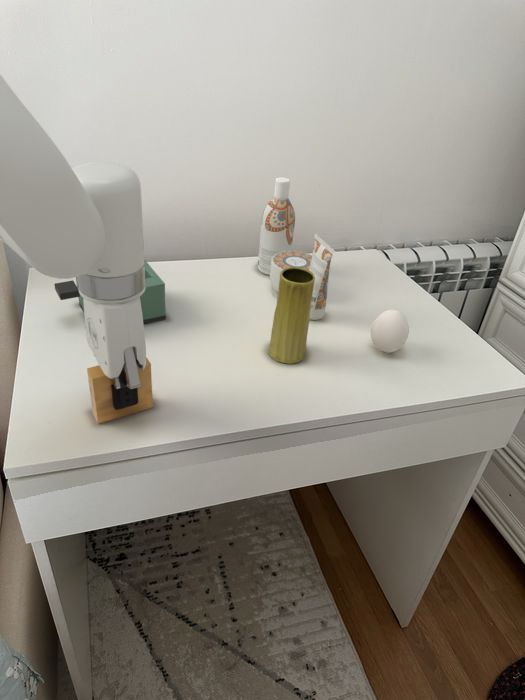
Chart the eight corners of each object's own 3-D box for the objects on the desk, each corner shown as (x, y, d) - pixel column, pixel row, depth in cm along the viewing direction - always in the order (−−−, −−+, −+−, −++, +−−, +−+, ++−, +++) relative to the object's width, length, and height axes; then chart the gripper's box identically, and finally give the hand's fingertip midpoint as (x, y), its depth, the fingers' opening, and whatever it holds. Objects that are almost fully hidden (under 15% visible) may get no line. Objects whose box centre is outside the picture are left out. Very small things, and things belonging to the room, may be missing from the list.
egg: (361, 340, 92) (370, 302, 88) (394, 338, 93) (405, 301, 89) (374, 361, 87) (384, 322, 83) (408, 359, 88) (420, 320, 84)
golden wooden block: (98, 423, 70) (92, 379, 66) (92, 412, 72) (86, 368, 67) (152, 407, 74) (150, 363, 69) (146, 397, 75) (144, 353, 71)
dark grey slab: (60, 300, 84) (59, 293, 83) (55, 289, 86) (54, 283, 85) (80, 296, 85) (79, 290, 84) (74, 286, 87) (73, 280, 87)
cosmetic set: (342, 321, 96) (363, 223, 85) (296, 328, 93) (311, 227, 82) (286, 260, 115) (297, 172, 104) (246, 264, 112) (253, 174, 101)
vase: (294, 339, 90) (305, 263, 82) (312, 359, 86) (326, 281, 78) (261, 346, 88) (270, 268, 80) (278, 367, 84) (289, 287, 75)
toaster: (96, 334, 87) (92, 297, 82) (79, 305, 93) (74, 269, 89) (165, 319, 92) (165, 283, 88) (145, 292, 99) (143, 258, 95)
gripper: (60, 253, 65) (77, 372, 75) (100, 318, 54) (113, 447, 65) (120, 244, 68) (129, 359, 79) (169, 304, 57) (171, 428, 68)
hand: (122, 398), depth 72 cm, fingers closed on golden wooden block, 2 cm apart
